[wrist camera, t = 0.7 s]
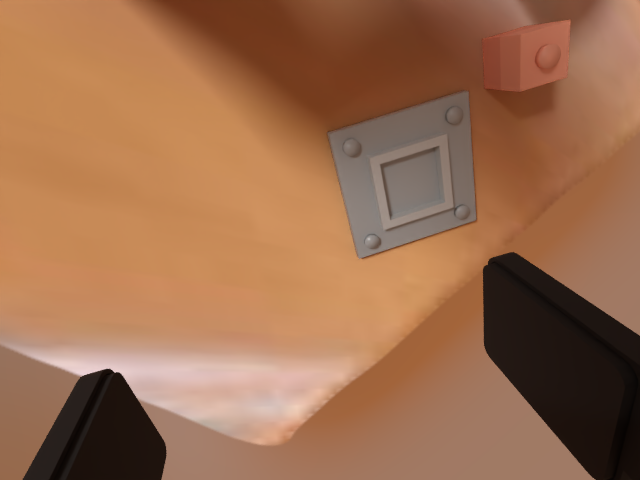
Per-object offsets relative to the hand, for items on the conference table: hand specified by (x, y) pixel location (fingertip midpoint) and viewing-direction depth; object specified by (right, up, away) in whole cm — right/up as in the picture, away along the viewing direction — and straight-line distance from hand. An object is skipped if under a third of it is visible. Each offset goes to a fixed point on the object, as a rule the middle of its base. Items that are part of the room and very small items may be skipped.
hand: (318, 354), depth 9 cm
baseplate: (+10, +10, +34) cm, 37 cm away
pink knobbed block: (+20, +23, +30) cm, 43 cm away
